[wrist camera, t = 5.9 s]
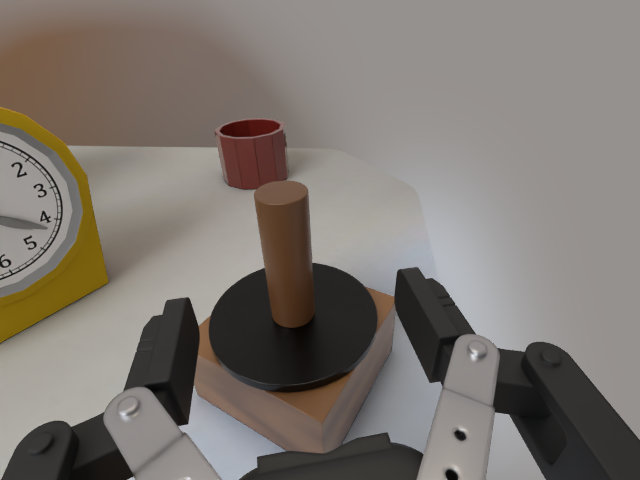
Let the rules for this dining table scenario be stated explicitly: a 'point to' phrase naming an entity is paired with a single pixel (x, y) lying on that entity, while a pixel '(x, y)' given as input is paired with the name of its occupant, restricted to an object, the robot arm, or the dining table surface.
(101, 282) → the alarm clock
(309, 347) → the lid
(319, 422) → the brown wooden block
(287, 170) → the pot
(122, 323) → the dining table surface
